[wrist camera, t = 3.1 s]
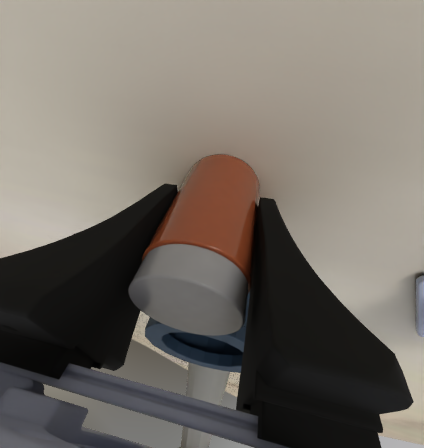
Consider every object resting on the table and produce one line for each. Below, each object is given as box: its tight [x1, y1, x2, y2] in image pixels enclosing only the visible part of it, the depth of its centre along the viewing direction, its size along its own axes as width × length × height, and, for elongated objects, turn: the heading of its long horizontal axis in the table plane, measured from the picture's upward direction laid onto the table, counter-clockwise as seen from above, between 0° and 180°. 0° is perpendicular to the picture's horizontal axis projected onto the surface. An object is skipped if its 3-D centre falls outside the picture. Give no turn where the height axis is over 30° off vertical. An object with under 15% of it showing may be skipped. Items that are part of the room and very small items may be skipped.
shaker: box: [128, 154, 260, 336], centre depth 9 cm, size 4×4×7 cm
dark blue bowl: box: [145, 292, 250, 373], centre depth 19 cm, size 10×10×5 cm
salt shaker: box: [179, 362, 230, 448], centre depth 27 cm, size 6×6×13 cm
